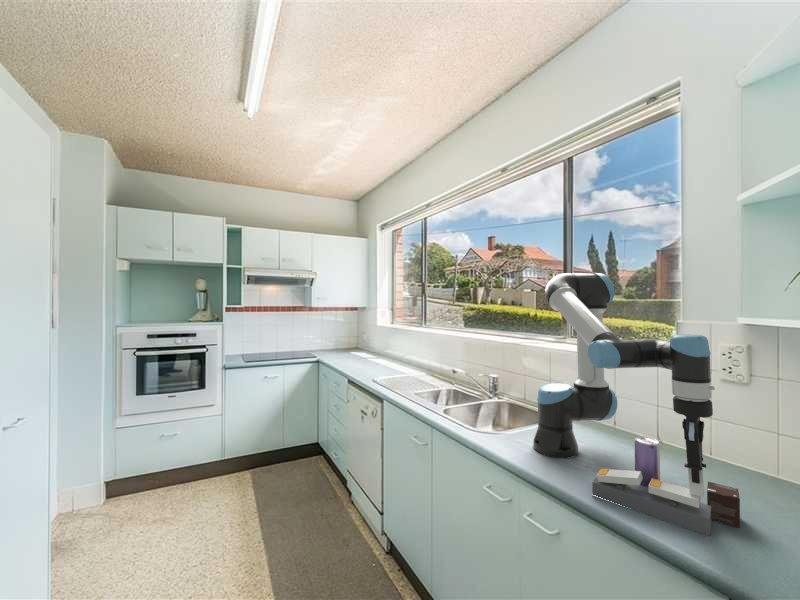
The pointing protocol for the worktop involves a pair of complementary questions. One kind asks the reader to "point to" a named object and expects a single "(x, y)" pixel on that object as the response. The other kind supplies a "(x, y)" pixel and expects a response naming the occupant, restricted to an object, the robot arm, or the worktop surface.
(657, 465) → the beverage can
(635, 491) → the switch panel
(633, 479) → the block
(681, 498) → the rocker right
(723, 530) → the worktop surface
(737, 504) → the box
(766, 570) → the worktop surface
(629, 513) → the worktop surface
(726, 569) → the worktop surface
